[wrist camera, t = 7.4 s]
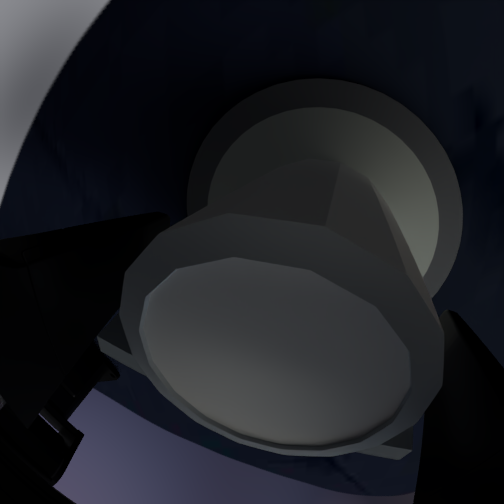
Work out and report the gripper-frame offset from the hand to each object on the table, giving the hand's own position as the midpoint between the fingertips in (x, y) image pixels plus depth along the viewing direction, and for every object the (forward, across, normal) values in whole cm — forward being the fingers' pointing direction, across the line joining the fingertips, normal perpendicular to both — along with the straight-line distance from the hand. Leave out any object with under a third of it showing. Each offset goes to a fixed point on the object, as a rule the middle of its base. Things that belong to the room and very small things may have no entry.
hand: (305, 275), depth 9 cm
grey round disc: (+4, 0, 0) cm, 4 cm away
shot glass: (+3, 0, 0) cm, 3 cm away
